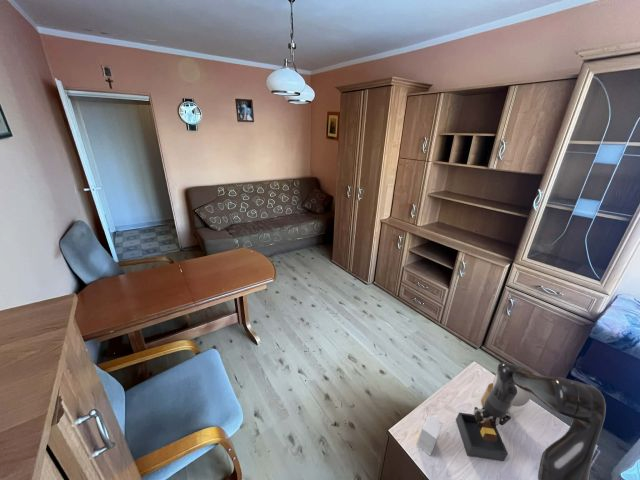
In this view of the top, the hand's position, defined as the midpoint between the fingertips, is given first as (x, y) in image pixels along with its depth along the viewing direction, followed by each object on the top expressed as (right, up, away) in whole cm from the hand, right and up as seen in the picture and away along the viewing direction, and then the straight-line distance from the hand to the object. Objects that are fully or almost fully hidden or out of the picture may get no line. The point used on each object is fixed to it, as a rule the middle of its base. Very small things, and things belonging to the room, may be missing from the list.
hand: (485, 426), depth 114 cm
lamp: (+16, -4, +17) cm, 24 cm away
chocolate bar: (0, -1, 0) cm, 1 cm away
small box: (-25, -9, +2) cm, 27 cm away
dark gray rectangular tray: (0, -9, +4) cm, 10 cm away
